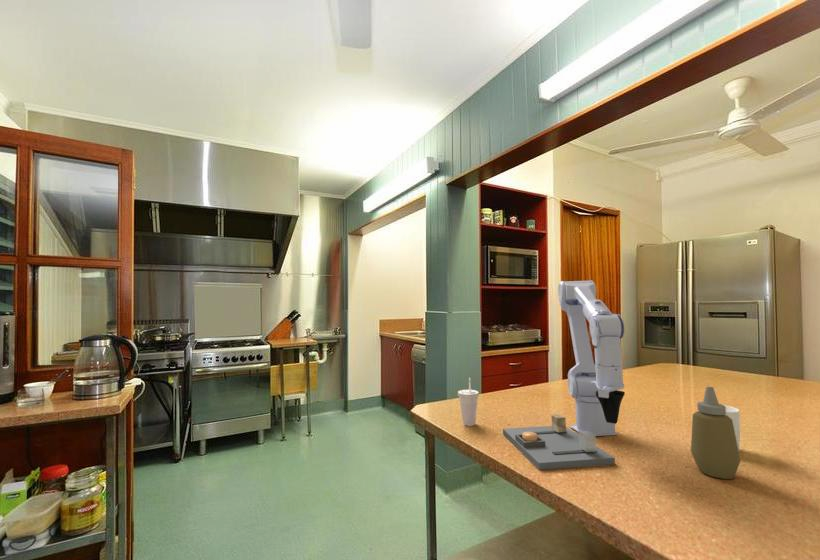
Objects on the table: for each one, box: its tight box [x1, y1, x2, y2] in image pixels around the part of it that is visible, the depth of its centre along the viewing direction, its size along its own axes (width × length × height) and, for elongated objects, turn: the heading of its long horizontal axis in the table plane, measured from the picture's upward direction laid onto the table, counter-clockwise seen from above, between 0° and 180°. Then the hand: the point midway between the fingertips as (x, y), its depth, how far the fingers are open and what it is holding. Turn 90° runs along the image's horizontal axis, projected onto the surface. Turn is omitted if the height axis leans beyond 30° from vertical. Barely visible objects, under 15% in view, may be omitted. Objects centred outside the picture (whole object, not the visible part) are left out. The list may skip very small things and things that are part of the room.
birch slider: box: [551, 413, 567, 432], centre depth 98 cm, size 2×3×4 cm
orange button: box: [522, 432, 537, 442], centre depth 91 cm, size 4×4×2 cm
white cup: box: [723, 404, 741, 452], centre depth 89 cm, size 8×8×10 cm
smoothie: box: [457, 377, 480, 427], centre depth 111 cm, size 6×6×14 cm
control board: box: [502, 425, 616, 471], centre depth 91 cm, size 18×22×3 cm
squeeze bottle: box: [690, 386, 741, 480], centre depth 77 cm, size 8×8×18 cm
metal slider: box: [577, 430, 597, 452], centre depth 85 cm, size 2×3×4 cm
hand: (611, 422), depth 86 cm, fingers closed
